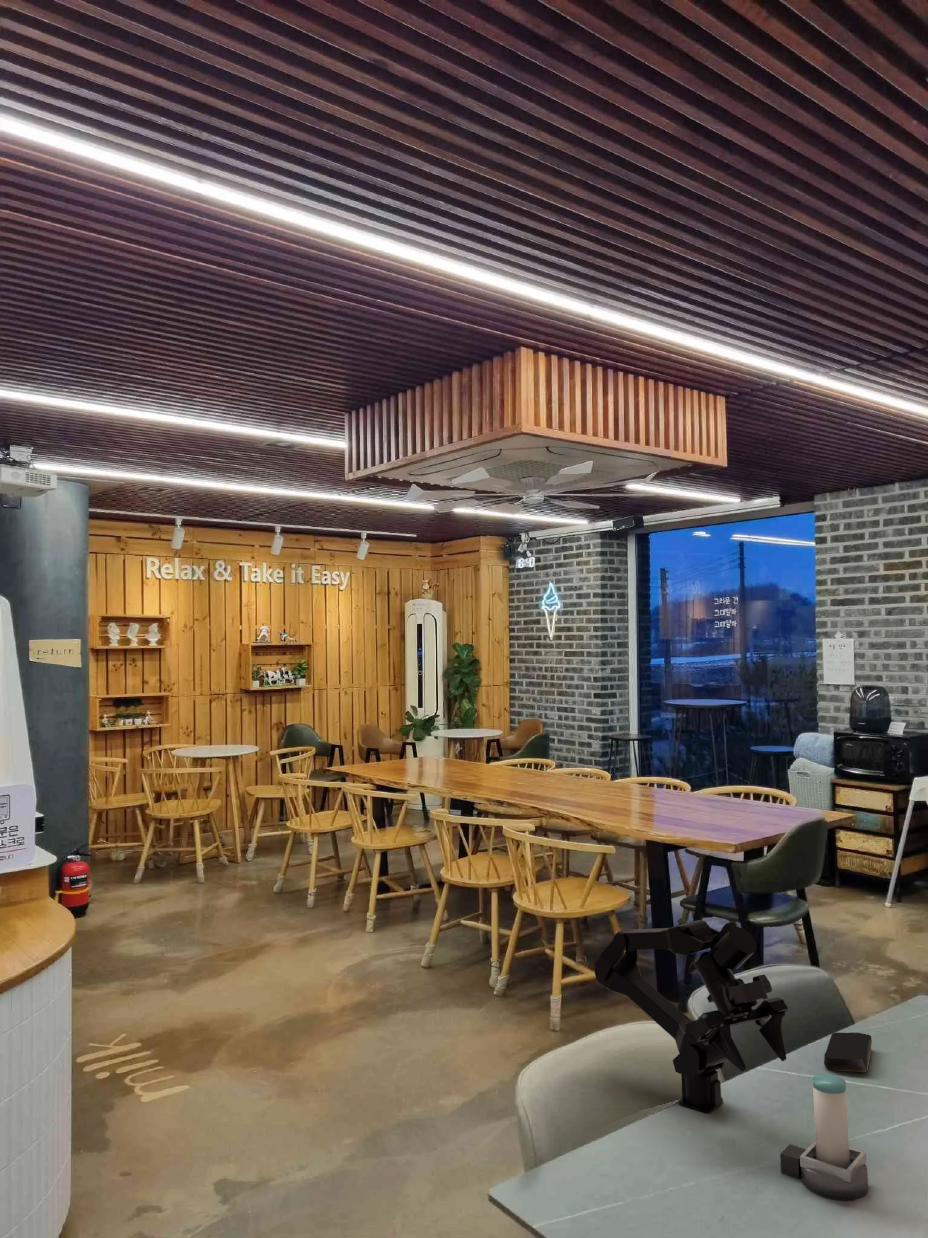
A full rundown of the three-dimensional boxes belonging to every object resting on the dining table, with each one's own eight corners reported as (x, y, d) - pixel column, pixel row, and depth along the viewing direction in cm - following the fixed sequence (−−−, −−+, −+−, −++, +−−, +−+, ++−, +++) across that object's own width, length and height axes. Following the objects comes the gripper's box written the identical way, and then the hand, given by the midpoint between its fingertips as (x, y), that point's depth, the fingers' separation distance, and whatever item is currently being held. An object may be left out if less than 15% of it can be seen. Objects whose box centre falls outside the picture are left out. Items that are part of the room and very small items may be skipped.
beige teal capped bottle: (824, 1172, 146) (819, 1088, 147) (811, 1156, 151) (807, 1074, 152) (855, 1171, 146) (850, 1087, 147) (842, 1155, 151) (837, 1073, 152)
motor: (773, 1180, 150) (772, 1151, 150) (797, 1155, 157) (796, 1128, 158) (856, 1208, 141) (854, 1177, 142) (877, 1181, 149) (875, 1152, 149)
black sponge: (867, 1079, 187) (866, 1061, 187) (823, 1072, 191) (822, 1054, 191) (873, 1051, 201) (872, 1033, 202) (832, 1045, 205) (831, 1028, 206)
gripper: (699, 968, 165) (744, 1054, 154) (779, 953, 173) (827, 1034, 162) (673, 999, 172) (715, 1083, 161) (751, 983, 180) (796, 1063, 169)
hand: (764, 1065), depth 163 cm, fingers open, 9 cm apart
